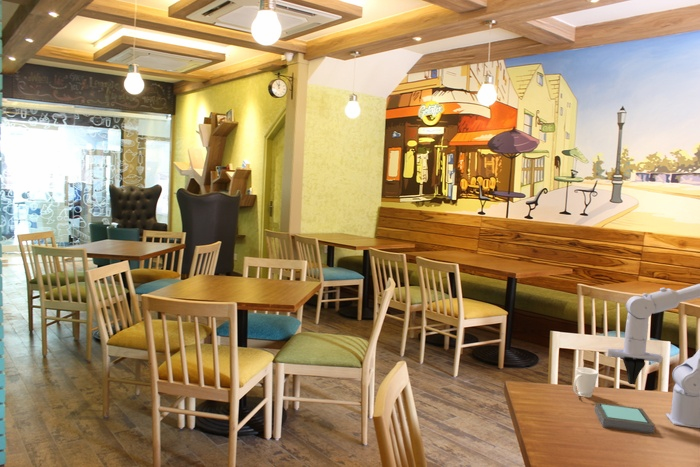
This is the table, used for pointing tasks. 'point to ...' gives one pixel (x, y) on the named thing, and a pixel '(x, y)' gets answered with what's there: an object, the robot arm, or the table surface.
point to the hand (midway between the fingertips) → (631, 383)
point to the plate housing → (624, 421)
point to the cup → (585, 381)
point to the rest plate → (623, 413)
